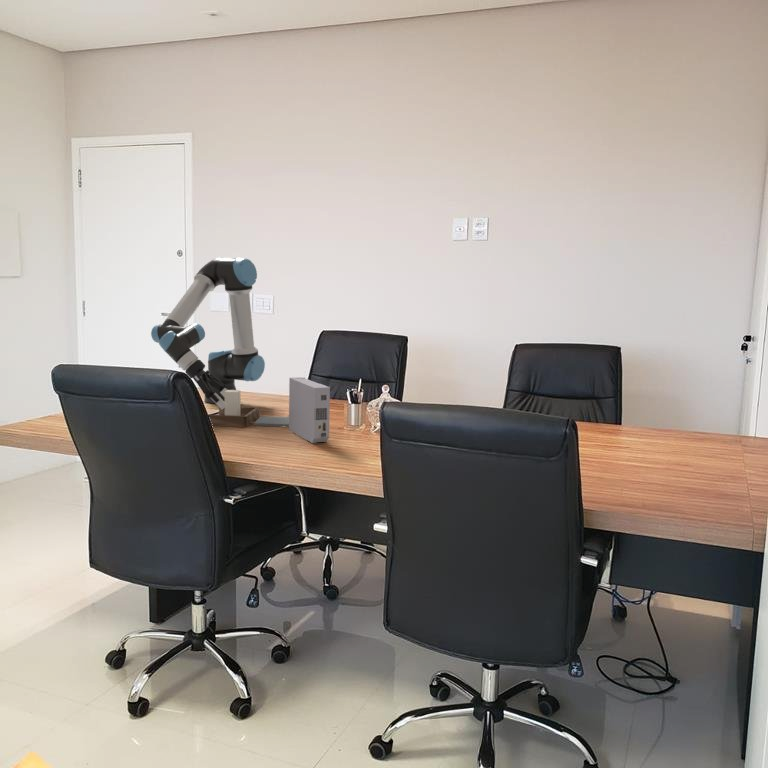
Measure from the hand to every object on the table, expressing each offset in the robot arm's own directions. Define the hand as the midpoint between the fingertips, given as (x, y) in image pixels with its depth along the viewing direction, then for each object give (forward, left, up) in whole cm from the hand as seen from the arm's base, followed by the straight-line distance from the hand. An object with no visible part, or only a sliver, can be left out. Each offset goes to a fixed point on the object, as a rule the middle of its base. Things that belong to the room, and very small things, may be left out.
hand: (229, 404), depth 303 cm
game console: (+23, +35, -7) cm, 43 cm away
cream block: (-1, +1, -7) cm, 7 cm away
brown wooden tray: (-1, +1, -7) cm, 7 cm away
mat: (-1, +18, -7) cm, 19 cm away
